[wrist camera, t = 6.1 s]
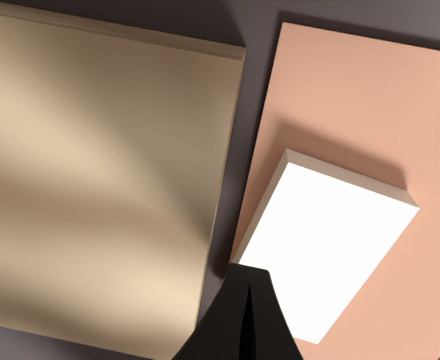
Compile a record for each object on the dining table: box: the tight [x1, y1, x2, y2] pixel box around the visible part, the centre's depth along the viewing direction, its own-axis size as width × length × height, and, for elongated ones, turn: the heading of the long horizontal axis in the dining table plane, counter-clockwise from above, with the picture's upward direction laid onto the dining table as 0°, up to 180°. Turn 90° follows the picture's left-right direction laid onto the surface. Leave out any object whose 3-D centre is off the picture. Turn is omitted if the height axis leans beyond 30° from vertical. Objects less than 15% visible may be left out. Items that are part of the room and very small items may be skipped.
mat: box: [229, 22, 440, 360], centre depth 15 cm, size 16×11×1 cm
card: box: [217, 148, 420, 344], centre depth 15 cm, size 8×5×1 cm, turn 161°
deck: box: [0, 2, 247, 360], centre depth 15 cm, size 14×10×2 cm
